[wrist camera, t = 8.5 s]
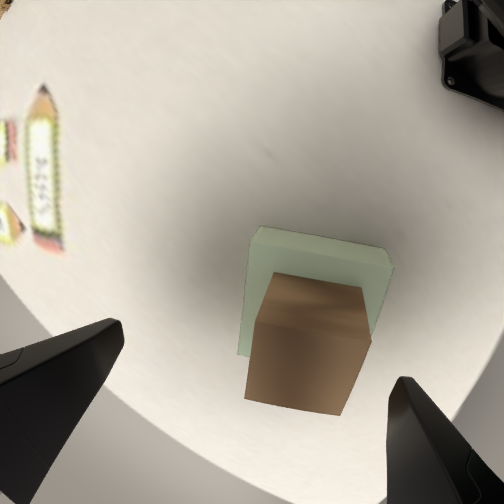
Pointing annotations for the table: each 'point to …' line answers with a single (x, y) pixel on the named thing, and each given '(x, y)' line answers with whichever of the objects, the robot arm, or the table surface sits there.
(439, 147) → the table surface
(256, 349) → the walnut cube
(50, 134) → the table surface
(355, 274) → the platform
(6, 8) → the model pyramid
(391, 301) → the table surface
